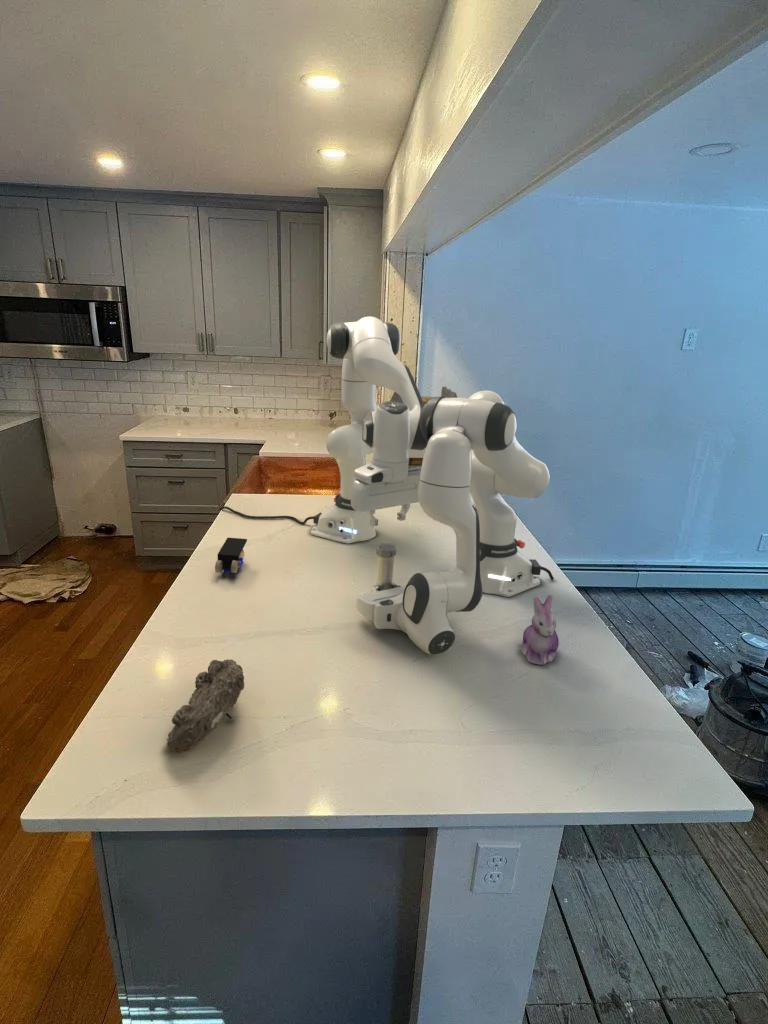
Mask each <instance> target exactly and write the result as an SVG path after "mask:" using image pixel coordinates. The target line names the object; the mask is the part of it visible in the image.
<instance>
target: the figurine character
mask: <svg viewBox="0 0 768 1024" xmlns="http://www.w3.org/2000/svg"><path fill="white" fill-rule="evenodd" d="M247 542H248V538H240V537H226V539H225V541H224V543H223V544H222V546H221V547H220V549H219V551H218V552H217V560H216V562H215V564H214V572H215V573H221V577H222V578H224V577H225V576H226V574H227V573H230V574H231V573H232V574H231V578H234V577H235V575H236V573H237V572H239V571H240V567H242V566H243V565H244V564H245V562H244V558H245V551H244V547H245V546H246V544H247Z"/></svg>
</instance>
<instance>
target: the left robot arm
mask: <svg viewBox="0 0 768 1024" xmlns="http://www.w3.org/2000/svg"><path fill="white" fill-rule="evenodd" d="M325 340H326V341H325V342H326V347H327V350H328V352H329V355H331V357H332V358H334V359H338V360H342V366H341V404H342V407H343V408H344V409H345V410H347V412H348V414H349V417H350V424H345V425H341V426H338V427H337V428H335V429H333V430H332V431H330V432H329V433H328V435H327V437H326V440H325V446H326V450H327V453H328V454H329V455H330V456H331V457H332V458H333V459H334V460H335V462H336V464H337V466H338V470H339V476H340V480H339V481H340V484H339V485H340V488H339V489H340V490H339V491H338V492H337V494H336V495H335V496H334V497H333V502H334V504H333V505H331V506H329V507H328V508H326V509H325V510H323V512H319V513H317V514H315V515H312V516H307V517H306V518H305V519H304V520H303V521H300V519H298V518H297V517H294V516H292V515H269V516H268V515H267V516H266V515H262V516H261V515H258V516H257V515H249V514H244V513H242V512H239V511H238V510H234V509H233V508H231V507H229V506H225V505H224V506H221V507H220V508H219V511H222V510H228V511H229V512H231V513H233V514H236V515H238V516H241V517H243V518H246V519H254V520H256V519H257V520H258V519H259V520H262V519H263V520H266V519H267V520H269V519H270V520H271V519H273V520H275V519H291V520H294V522H296V523H297V524H299V525H305V524H306V523H307V522H308V521H310V520H313V524H314V525H313V526H312V528H311V530H310V533H311V536H315V537H319V538H323V539H326V540H330V541H336V542H339V543H343V544H352V543H357V542H365V541H368V540H372V539H373V538H375V537H376V535H377V532H376V528H375V527H377V526H378V525H379V519H378V518H376V517H375V514H376V511H377V510H383V509H387V508H393V507H400V506H401V509H400V510H399V512H396V519H397V521H398V522H399V521H400V522H402V521H405V520H406V518H407V513H408V512H409V510H410V508H411V504H415V503H419V499H418V489H419V481H420V473H421V466H408V464H409V455H408V449H412V450H423V449H425V448H426V447H427V441H426V439H425V438H424V436H423V434H422V432H421V429H420V414H421V411H422V408H423V406H424V402H423V400H422V398H421V397H422V395H421V393H420V391H419V388H418V385H417V383H416V381H415V379H414V376H413V374H412V372H411V370H410V368H409V366H408V365H406V364H405V363H402V362H401V360H400V359H399V358H398V357H397V354H398V353H399V351H400V347H401V343H402V339H401V334H400V330H399V327H397V325H396V324H394V323H391V322H386V321H385V322H383V321H382V320H381V319H379V318H378V317H375V316H364V317H361V318H360V319H358V320H357V321H348V322H344V321H338V322H334V323H332V324H331V325H330V327H329V328H328V331H327V334H326V339H325ZM377 386H378V387H382V388H385V389H388V390H391V391H393V392H396V393H398V394H399V395H400V396H401V398H402V401H403V403H404V404H403V403H399V402H394V401H390V400H387V401H382V402H380V403H378V404H377ZM370 454H372V460H370V461H369V462H367V461H366V456H367V455H370Z"/></svg>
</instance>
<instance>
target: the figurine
mask: <svg viewBox="0 0 768 1024" xmlns="http://www.w3.org/2000/svg"><path fill="white" fill-rule="evenodd" d="M552 608H553V594H548V595H547V596H546V598H545V600H544V602H543V603H542V601H541V599H540V597H538V596H537V595H534V596H533V611H534V613H533V616H532V619H531V624H530V625H528V626H527V627H525V629H524V631H523V634H522V641H521V652H522V654H523V656H524V657H526V659H527V661H528V662H529V663H531V664H535V665H538V666H539V665H546V664H547V663H551V662H553V661H554V659H555V657H556V654H557V650H558V649H559V645H560V644H559V643H560V641H559V636H558V633H557V631H556V628H557V620H556V617H555V615H554V613H553V610H552Z"/></svg>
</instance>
